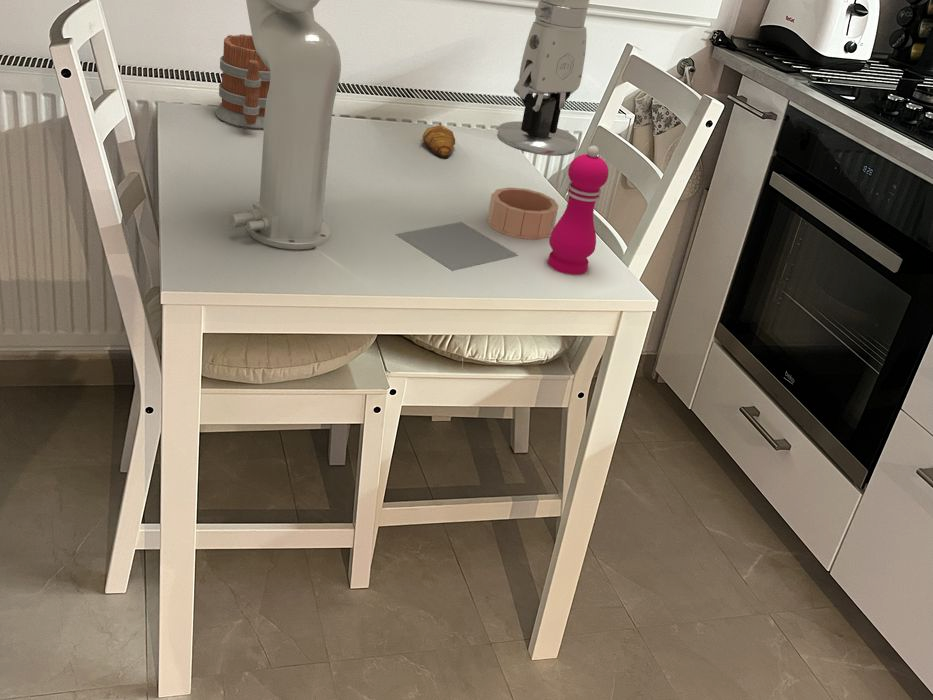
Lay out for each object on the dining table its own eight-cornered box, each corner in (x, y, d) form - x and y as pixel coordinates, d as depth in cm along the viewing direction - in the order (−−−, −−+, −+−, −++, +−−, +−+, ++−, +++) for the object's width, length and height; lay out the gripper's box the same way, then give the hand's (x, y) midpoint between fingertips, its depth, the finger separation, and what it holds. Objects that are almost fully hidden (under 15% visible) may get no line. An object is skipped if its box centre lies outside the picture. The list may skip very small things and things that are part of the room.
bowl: (518, 245, 162) (524, 217, 160) (474, 220, 169) (479, 192, 167) (564, 235, 169) (570, 208, 167) (520, 211, 176) (525, 184, 174)
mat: (451, 272, 149) (452, 270, 149) (394, 236, 158) (395, 234, 158) (518, 257, 158) (518, 255, 158) (460, 224, 167) (461, 221, 166)
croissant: (461, 162, 195) (465, 137, 193) (427, 159, 194) (431, 135, 191) (446, 139, 207) (450, 115, 204) (414, 136, 205) (417, 113, 202)
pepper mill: (561, 254, 162) (587, 135, 152) (598, 271, 158) (627, 150, 149) (535, 264, 157) (560, 141, 147) (572, 282, 153) (601, 157, 144)
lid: (536, 159, 154) (545, 113, 150) (480, 132, 162) (488, 88, 158) (592, 151, 162) (602, 107, 159) (536, 125, 170) (544, 83, 166)
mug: (288, 111, 205) (293, 37, 198) (287, 142, 189) (293, 62, 181) (218, 104, 202) (220, 28, 195) (211, 134, 186) (213, 53, 179)
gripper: (540, 22, 145) (517, 144, 154) (614, 21, 155) (589, 135, 164) (505, 9, 149) (485, 128, 158) (579, 9, 160) (557, 120, 169)
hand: (538, 130), depth 161 cm, fingers closed on lid, 3 cm apart
